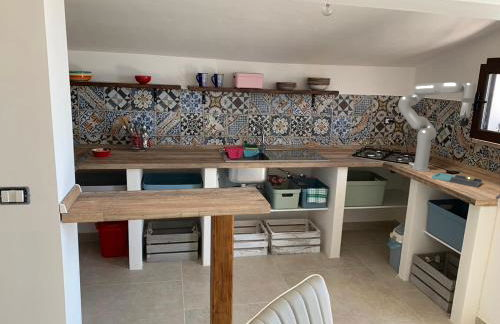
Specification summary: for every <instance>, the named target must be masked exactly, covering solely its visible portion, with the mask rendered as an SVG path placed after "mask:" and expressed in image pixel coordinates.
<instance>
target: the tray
mask: <svg viewBox="0 0 500 324" xmlns="http://www.w3.org/2000/svg"><path fill="white" fill-rule="evenodd" d="M451 177H455V175H452V174H447V173H443V172H442V173H441V172H438V173H435V174H432V176H431V179H433V180H438V181H443V182H447V183H451V182H450V179H451Z"/></svg>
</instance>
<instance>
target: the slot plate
mask: <svg viewBox="0 0 500 324" xmlns="http://www.w3.org/2000/svg"><path fill="white" fill-rule="evenodd" d="M454 176H455V177H451V179H450V182H449V183H453V184H457V185H461V186H462V185H463V186H466V187H467V186H468V187H472V188H478V187H479V186H481V185H482V184H483V179H482V178H477V177H475V179H474V181H471V180H466V176H467V175H462V174H461V175H460V174H455V175H454Z"/></svg>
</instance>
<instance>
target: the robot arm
mask: <svg viewBox="0 0 500 324" xmlns="http://www.w3.org/2000/svg"><path fill="white" fill-rule="evenodd" d="M476 90H477V83H476V82H463V81H462V82H461V81H448V82H427V83H425V82H424V83H417V84H415V85H414V86H413V89H412V92H411V94H406V95H403V96H401V97H400V98H399V101H398V104H397V106H398V111H399V112H400V114H401V115H402V116H403V118H404V119H405V120H406V122H407V123H408V124H409V125H410V127H411V128H412V129H413V130H418V132H417V135H416V137H417V139H416V140H417V141H416V142H417V143H416V150H415V156H414V157H415V158H414V162H410V161H409V162H408V166H411V169H412V171H413V170H414V171H418V172H419V171H420V172H429V171H430V168H429V162H430V155H431V149H432V148H431V147H432V140H435V138H436V137H437V130H436V129H435V127H434V126H433V125H432V123H431V122H430V120H428V119H427V118H426V117H425V116H422V115H421V116H420V115H418V114H417V112H416V111H415V109H413V108H412V107H413V106H415V105H417V104H418V103H419V102H420V101H421V100H423V99H424V97H426V96H433V95H436V96H437V95H440V94H462V96H461V109H460V113H459V117H460V121H459V127H462V128H463V127H466V126H468V125H469V122H470V121H469V120H470V117H471V113H472V104H474V103H475V97H476Z"/></svg>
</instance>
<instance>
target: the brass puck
mask: <svg viewBox="0 0 500 324" xmlns="http://www.w3.org/2000/svg"><path fill="white" fill-rule="evenodd" d="M465 176H466V180H471V181H474V179H475V178H476V177H475V176H470V175H465Z"/></svg>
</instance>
